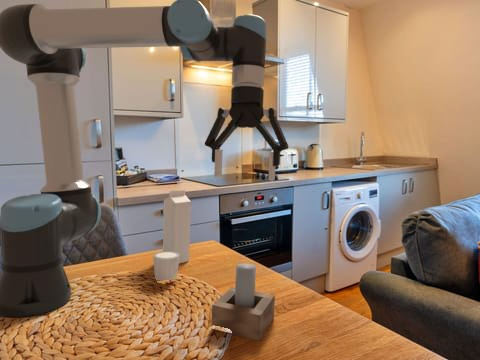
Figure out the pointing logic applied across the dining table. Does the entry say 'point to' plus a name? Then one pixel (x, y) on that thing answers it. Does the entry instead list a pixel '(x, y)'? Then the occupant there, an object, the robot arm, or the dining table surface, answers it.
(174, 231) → the milk
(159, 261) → the grey and white cylinder
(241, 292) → the grey cylinder
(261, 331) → the socket
